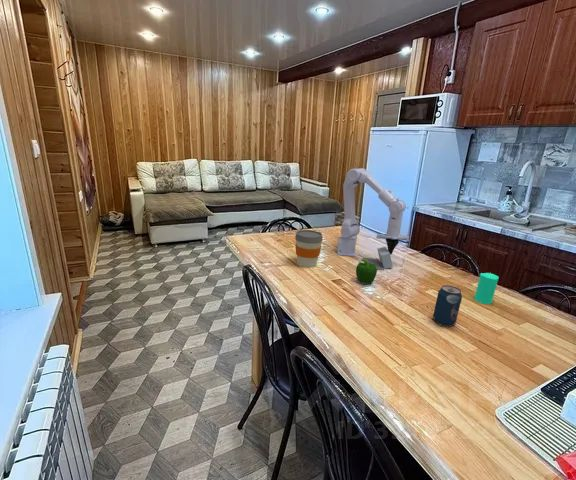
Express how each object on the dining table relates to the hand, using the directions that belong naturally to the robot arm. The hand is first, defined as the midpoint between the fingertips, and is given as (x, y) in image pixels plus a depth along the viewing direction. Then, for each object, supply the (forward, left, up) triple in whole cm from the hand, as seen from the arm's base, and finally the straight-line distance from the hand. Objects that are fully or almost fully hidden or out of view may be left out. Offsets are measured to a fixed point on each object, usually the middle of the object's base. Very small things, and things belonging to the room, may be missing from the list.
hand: (389, 253), depth 150 cm
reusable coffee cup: (-39, -7, -6) cm, 40 cm away
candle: (+30, -30, -6) cm, 43 cm away
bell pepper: (-14, -22, -6) cm, 27 cm away
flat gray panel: (-7, 0, -6) cm, 9 cm away
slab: (-1, 0, -5) cm, 5 cm away
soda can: (+8, -49, -6) cm, 50 cm away
